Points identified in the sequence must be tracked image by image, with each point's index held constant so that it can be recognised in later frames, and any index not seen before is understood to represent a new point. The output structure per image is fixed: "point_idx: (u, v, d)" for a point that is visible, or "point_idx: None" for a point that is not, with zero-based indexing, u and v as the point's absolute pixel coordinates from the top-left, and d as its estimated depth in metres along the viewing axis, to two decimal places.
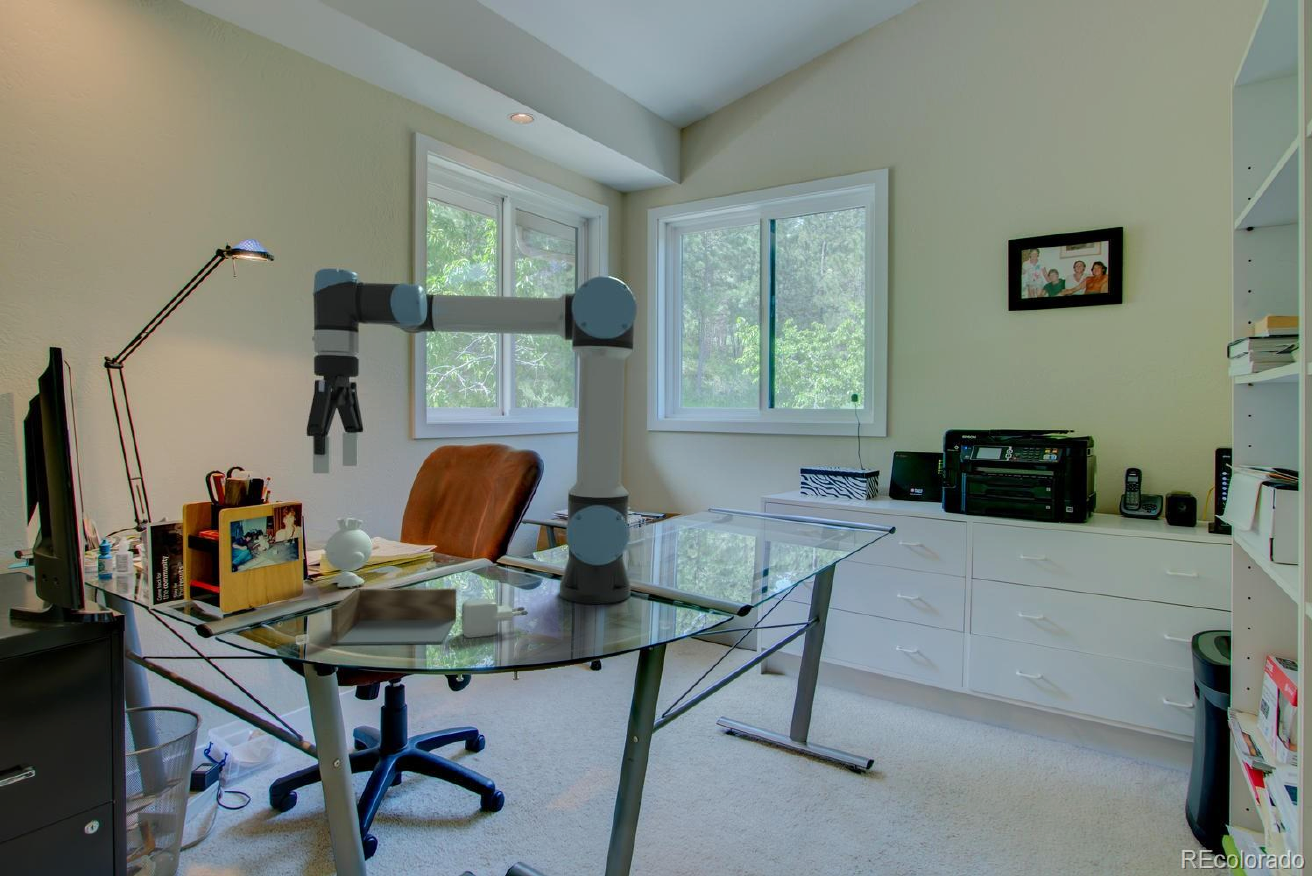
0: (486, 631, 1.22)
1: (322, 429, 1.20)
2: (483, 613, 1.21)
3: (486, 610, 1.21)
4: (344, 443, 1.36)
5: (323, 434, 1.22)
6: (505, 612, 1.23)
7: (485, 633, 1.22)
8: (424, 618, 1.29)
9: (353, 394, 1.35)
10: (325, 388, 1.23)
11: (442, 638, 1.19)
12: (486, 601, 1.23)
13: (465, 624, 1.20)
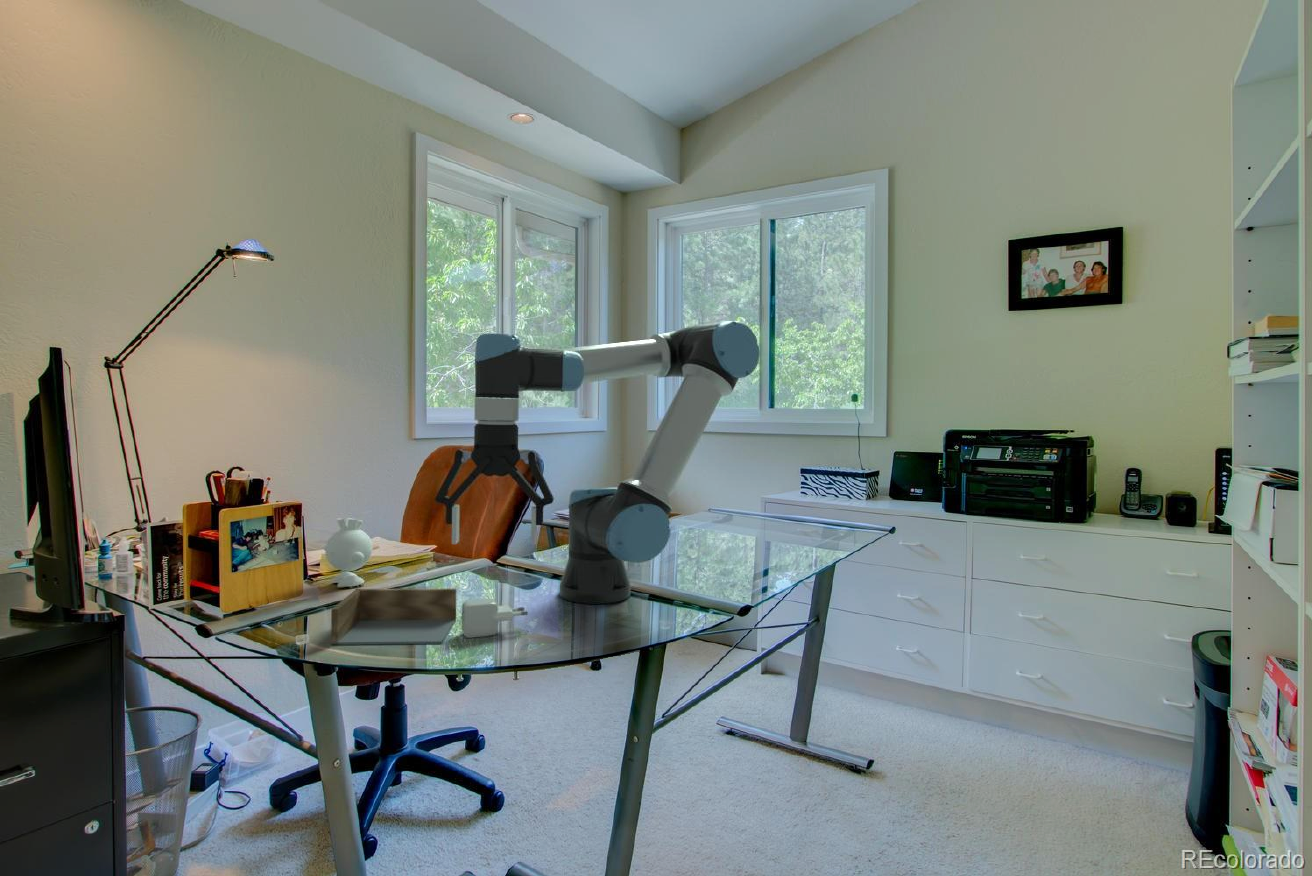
0: (486, 631, 1.22)
1: (437, 498, 1.21)
2: (483, 613, 1.21)
3: (486, 610, 1.21)
4: None
5: (446, 504, 1.21)
6: (505, 612, 1.23)
7: (485, 633, 1.22)
8: (424, 618, 1.29)
9: (529, 465, 1.22)
10: None
11: (442, 638, 1.19)
12: (486, 601, 1.23)
13: (465, 624, 1.20)
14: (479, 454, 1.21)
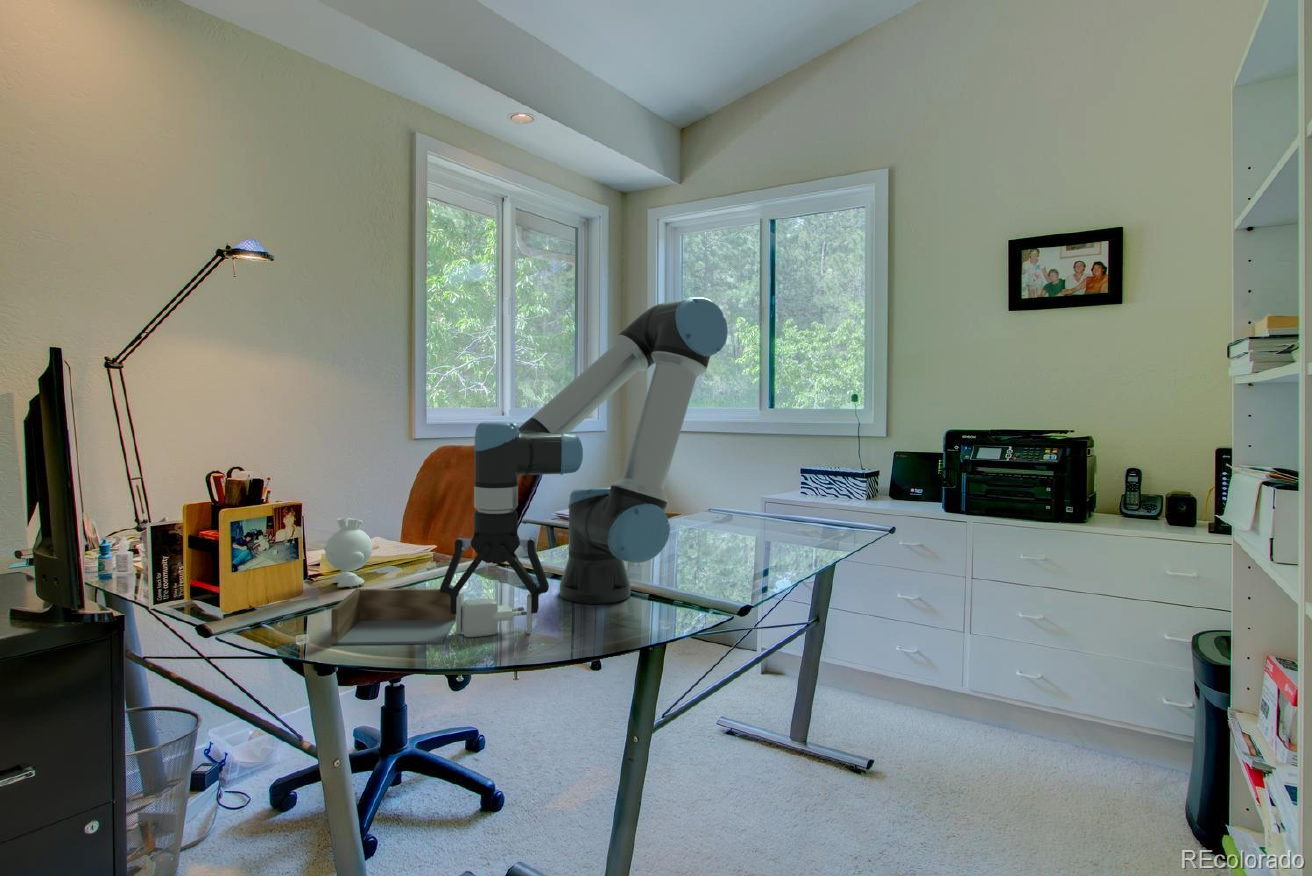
0: (486, 630, 1.22)
1: (441, 589, 1.22)
2: (483, 613, 1.21)
3: (486, 609, 1.21)
4: None
5: None
6: (505, 612, 1.23)
7: (485, 633, 1.22)
8: (424, 618, 1.29)
9: None
10: None
11: (442, 638, 1.19)
12: (486, 601, 1.23)
13: (465, 623, 1.20)
14: (479, 541, 1.22)
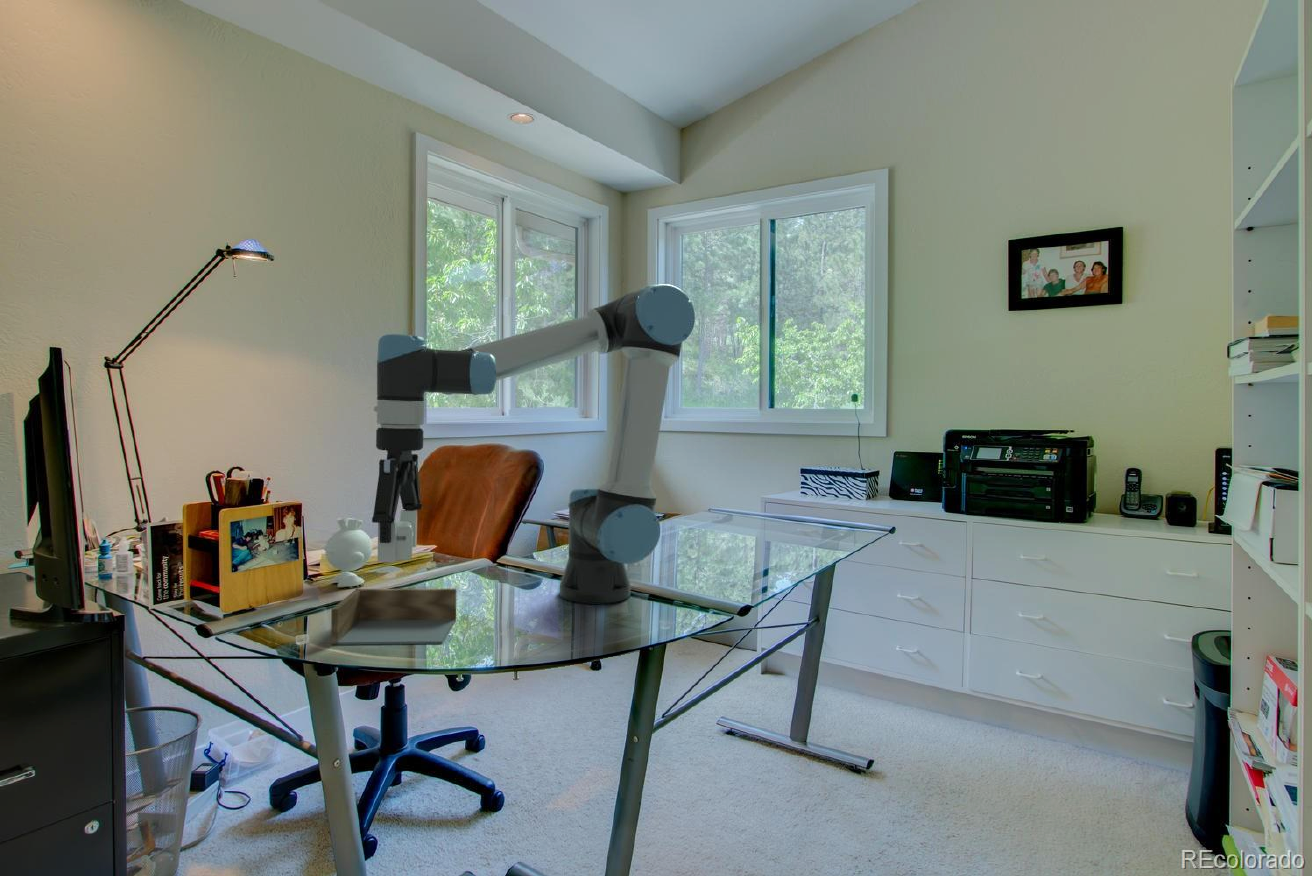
0: None
1: (390, 517, 1.10)
2: None
3: None
4: None
5: (390, 521, 1.12)
6: None
7: None
8: (424, 618, 1.29)
9: (414, 467, 1.24)
10: (391, 469, 1.12)
11: (442, 638, 1.19)
12: (400, 522, 1.18)
13: (411, 544, 1.15)
14: (401, 460, 1.16)
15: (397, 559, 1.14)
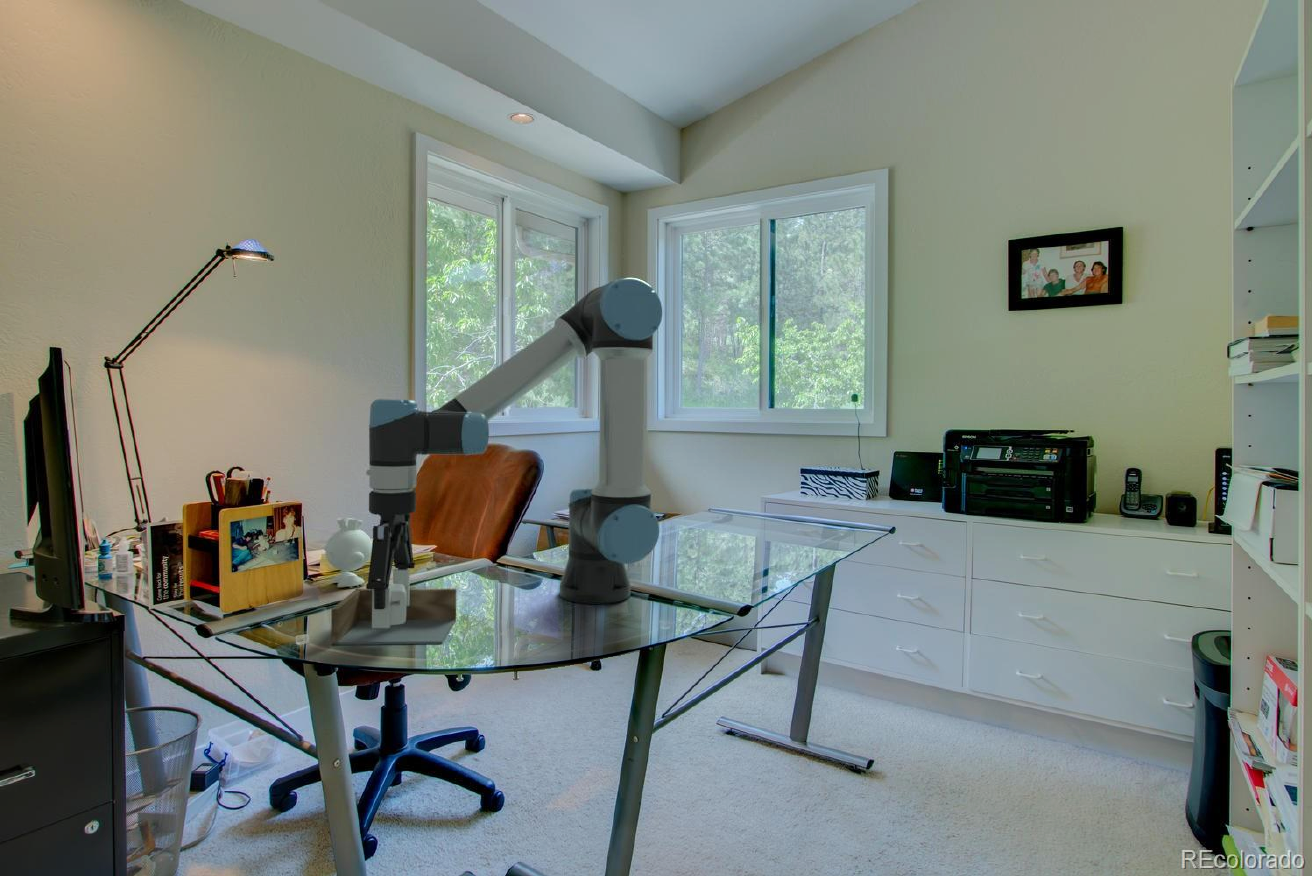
0: None
1: (384, 584, 1.11)
2: None
3: None
4: (395, 581, 1.25)
5: (384, 587, 1.12)
6: None
7: None
8: (424, 618, 1.29)
9: (406, 527, 1.25)
10: (385, 536, 1.12)
11: (442, 638, 1.19)
12: (394, 585, 1.18)
13: (405, 609, 1.16)
14: (394, 524, 1.16)
15: (391, 624, 1.15)
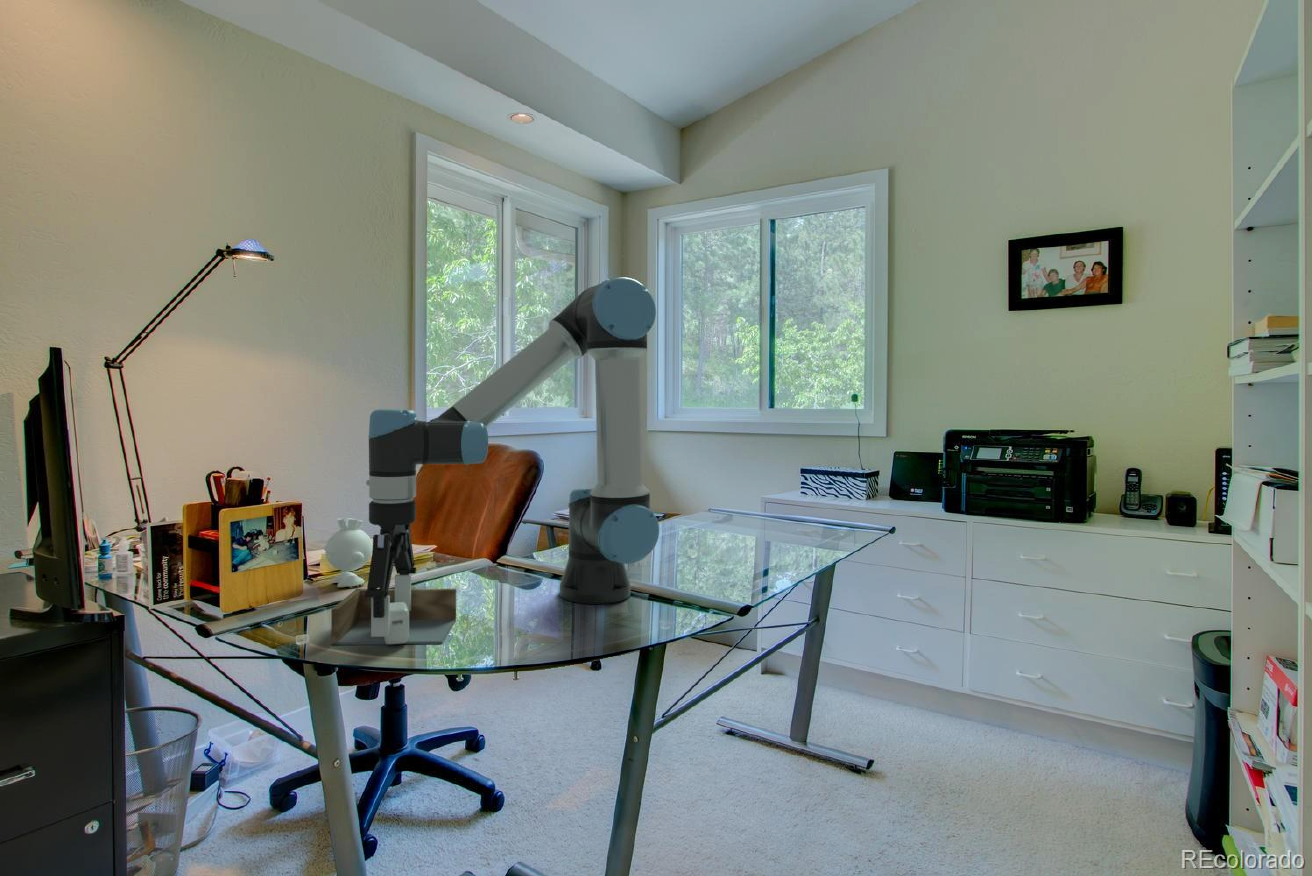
0: None
1: (383, 592, 1.10)
2: None
3: None
4: (396, 587, 1.26)
5: (383, 596, 1.11)
6: None
7: None
8: (424, 618, 1.29)
9: (407, 535, 1.25)
10: (385, 544, 1.12)
11: (442, 638, 1.19)
12: (396, 604, 1.19)
13: (408, 628, 1.16)
14: (394, 534, 1.17)
15: (394, 643, 1.16)
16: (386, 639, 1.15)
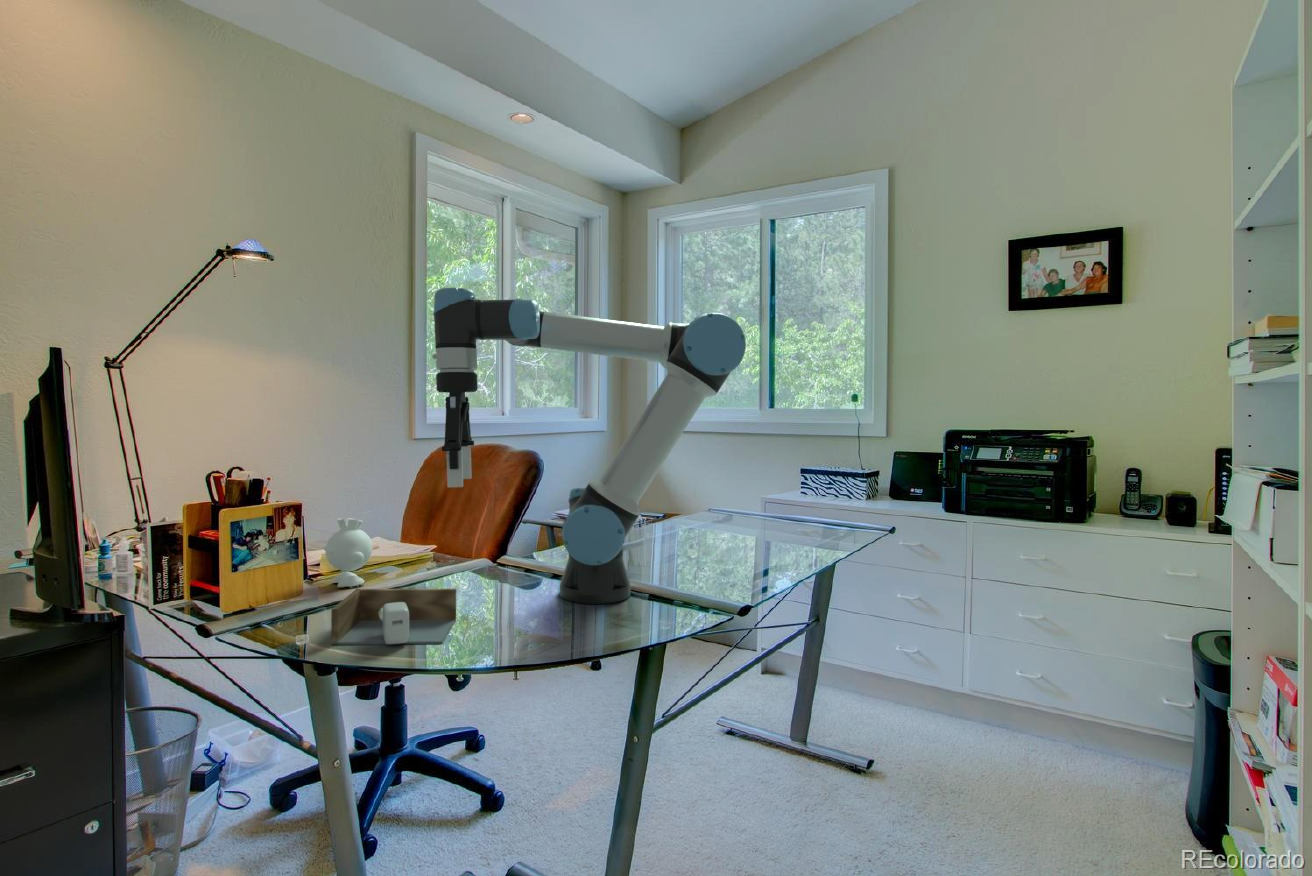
0: None
1: (459, 444, 1.24)
2: None
3: None
4: None
5: (458, 449, 1.25)
6: None
7: None
8: (424, 618, 1.29)
9: None
10: (456, 404, 1.26)
11: (442, 638, 1.19)
12: (396, 603, 1.19)
13: (408, 628, 1.16)
14: (461, 400, 1.30)
15: (394, 643, 1.16)
16: (386, 639, 1.15)
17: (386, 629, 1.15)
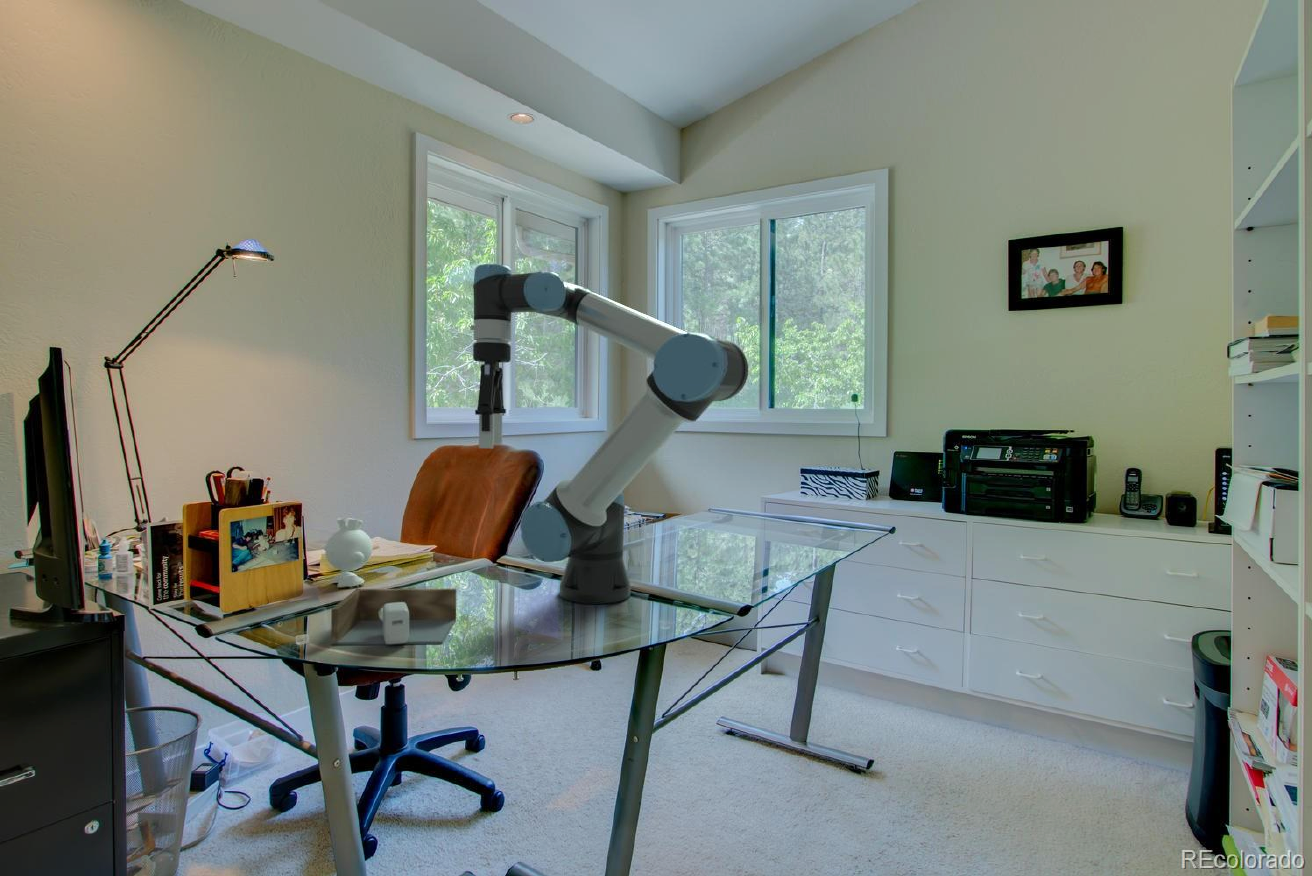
0: None
1: (491, 408, 1.34)
2: None
3: None
4: None
5: (490, 413, 1.35)
6: None
7: None
8: (424, 618, 1.29)
9: None
10: (490, 371, 1.36)
11: (442, 638, 1.19)
12: (396, 604, 1.19)
13: (408, 628, 1.16)
14: (495, 369, 1.41)
15: (394, 643, 1.16)
16: (386, 639, 1.15)
17: (386, 629, 1.15)
